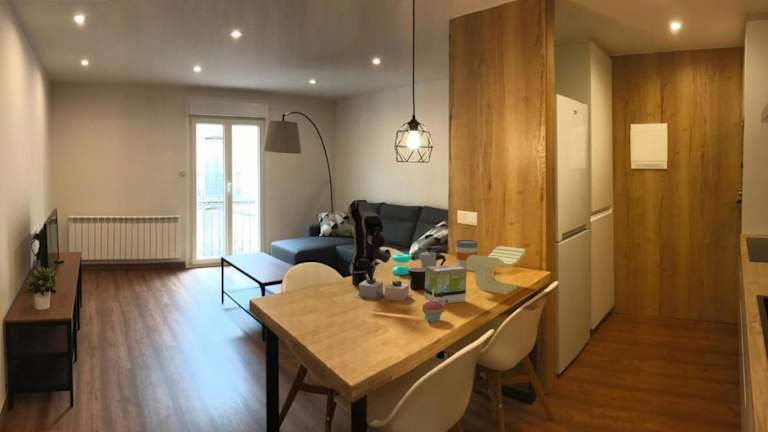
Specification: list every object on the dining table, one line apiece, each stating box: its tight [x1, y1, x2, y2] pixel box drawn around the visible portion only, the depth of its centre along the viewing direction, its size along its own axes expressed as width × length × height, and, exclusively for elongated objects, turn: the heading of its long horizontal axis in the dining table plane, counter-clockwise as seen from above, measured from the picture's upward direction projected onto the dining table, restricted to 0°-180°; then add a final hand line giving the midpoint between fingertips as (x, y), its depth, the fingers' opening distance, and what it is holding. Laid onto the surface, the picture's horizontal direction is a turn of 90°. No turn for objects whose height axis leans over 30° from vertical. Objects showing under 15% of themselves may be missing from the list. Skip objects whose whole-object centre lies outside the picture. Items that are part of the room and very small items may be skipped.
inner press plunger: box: [367, 277, 377, 283], centre depth 212 cm, size 6×6×7 cm
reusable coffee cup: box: [455, 239, 478, 268], centre depth 275 cm, size 13×13×15 cm
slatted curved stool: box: [466, 245, 526, 295], centre depth 229 cm, size 30×16×18 cm, turn 142°
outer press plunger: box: [392, 280, 403, 286], centre depth 208 cm, size 6×6×7 cm
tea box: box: [423, 263, 468, 305], centre depth 207 cm, size 15×10×15 cm, turn 117°
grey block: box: [358, 280, 384, 298], centre depth 213 cm, size 8×10×6 cm
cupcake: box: [421, 290, 446, 323], centre depth 181 cm, size 9×8×12 cm
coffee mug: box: [408, 266, 426, 291], centre depth 225 cm, size 12×9×10 cm
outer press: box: [384, 281, 410, 301], centre depth 209 cm, size 8×10×6 cm
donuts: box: [391, 253, 412, 276], centre depth 258 cm, size 10×10×10 cm
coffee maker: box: [416, 246, 447, 269], centre depth 238 cm, size 15×9×18 cm, turn 68°
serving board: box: [353, 291, 414, 304], centre depth 210 cm, size 23×13×1 cm, turn 69°
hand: (371, 279), depth 212 cm, fingers closed, pressing on inner press plunger
